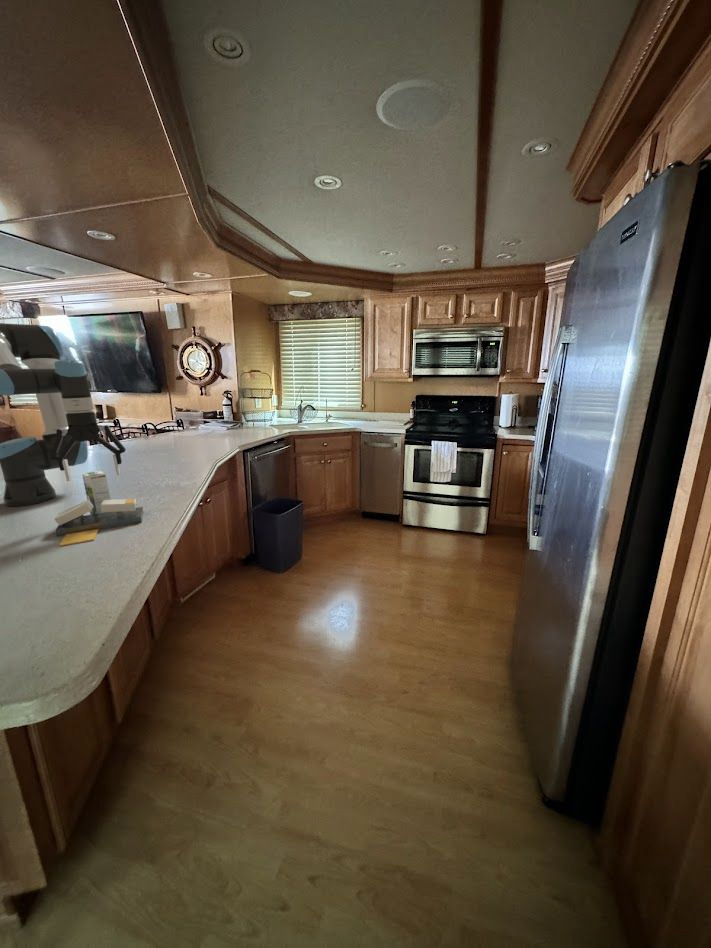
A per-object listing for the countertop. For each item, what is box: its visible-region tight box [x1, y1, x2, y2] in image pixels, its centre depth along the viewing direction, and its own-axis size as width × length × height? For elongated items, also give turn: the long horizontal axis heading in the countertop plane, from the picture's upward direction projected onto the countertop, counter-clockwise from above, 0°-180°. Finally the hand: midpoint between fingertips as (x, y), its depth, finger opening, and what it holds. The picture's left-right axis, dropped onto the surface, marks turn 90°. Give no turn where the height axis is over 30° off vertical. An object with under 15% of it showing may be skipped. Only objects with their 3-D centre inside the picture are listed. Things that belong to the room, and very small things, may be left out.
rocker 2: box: [101, 498, 137, 512], centre depth 120 cm, size 5×9×3 cm, turn 116°
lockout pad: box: [59, 529, 100, 547], centre depth 109 cm, size 8×8×1 cm
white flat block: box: [53, 500, 93, 526], centre depth 115 cm, size 5×9×2 cm, turn 116°
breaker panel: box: [54, 506, 144, 537], centre depth 118 cm, size 10×22×4 cm, turn 116°
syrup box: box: [81, 470, 112, 515], centre depth 125 cm, size 6×6×14 cm
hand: (94, 476), depth 123 cm, fingers open, 13 cm apart
